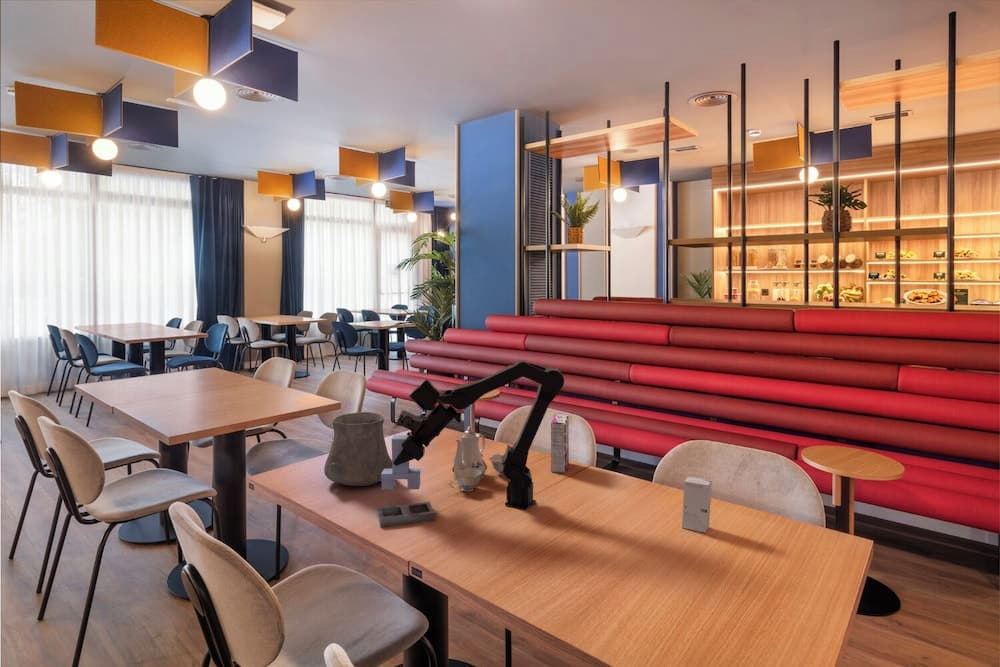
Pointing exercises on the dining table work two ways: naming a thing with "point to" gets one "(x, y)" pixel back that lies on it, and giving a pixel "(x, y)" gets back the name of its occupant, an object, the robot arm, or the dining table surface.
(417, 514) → the rail
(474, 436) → the chinaware
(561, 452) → the candy bar box
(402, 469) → the blue-gray inverted t block
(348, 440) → the vessel
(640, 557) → the dining table surface
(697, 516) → the skincare box
